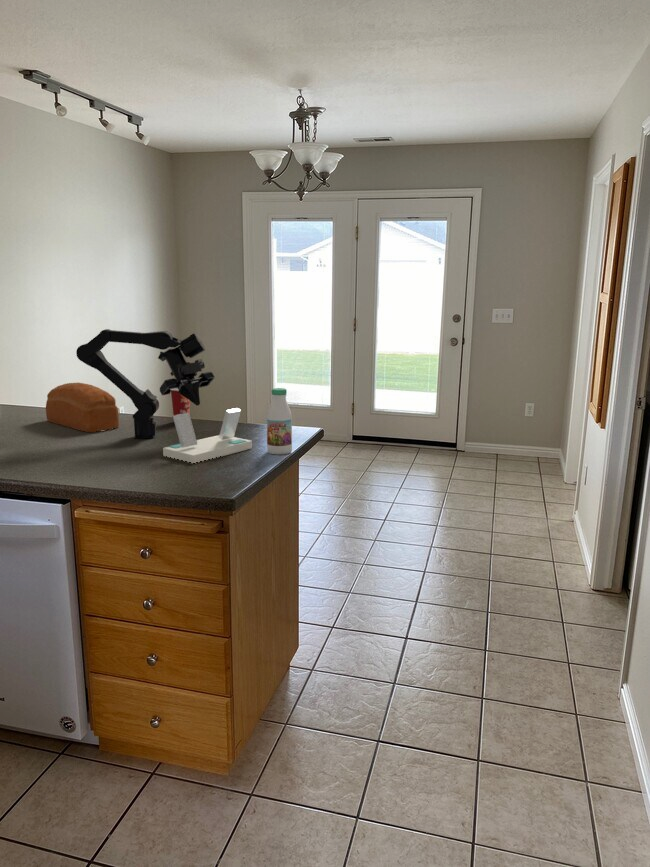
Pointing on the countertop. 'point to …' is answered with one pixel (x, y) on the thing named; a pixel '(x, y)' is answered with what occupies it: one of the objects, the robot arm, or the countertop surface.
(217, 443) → the switch panel
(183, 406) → the paper cup
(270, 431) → the milk bottle
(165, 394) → the robot arm
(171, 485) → the countertop surface
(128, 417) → the countertop surface
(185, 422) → the left lever
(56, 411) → the bread
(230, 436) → the right lever
